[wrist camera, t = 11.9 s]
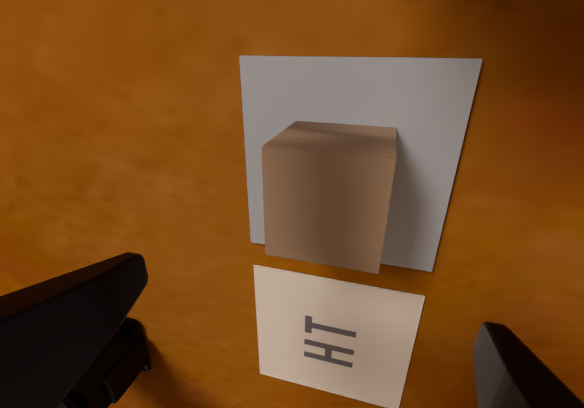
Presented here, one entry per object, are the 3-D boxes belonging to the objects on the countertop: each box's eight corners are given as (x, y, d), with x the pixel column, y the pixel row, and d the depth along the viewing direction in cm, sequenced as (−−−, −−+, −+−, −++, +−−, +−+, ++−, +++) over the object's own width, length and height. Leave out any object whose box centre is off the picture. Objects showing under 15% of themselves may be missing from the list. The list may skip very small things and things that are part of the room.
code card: (260, 372, 27) (259, 373, 27) (254, 264, 22) (253, 265, 22) (398, 409, 24) (398, 411, 24) (425, 295, 19) (424, 297, 19)
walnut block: (294, 206, 19) (265, 254, 15) (296, 120, 17) (261, 146, 12) (382, 218, 18) (378, 274, 13) (396, 127, 16) (396, 158, 11)
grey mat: (252, 239, 21) (250, 242, 21) (241, 55, 16) (239, 55, 16) (431, 268, 19) (431, 271, 18) (481, 58, 14) (482, 58, 13)
